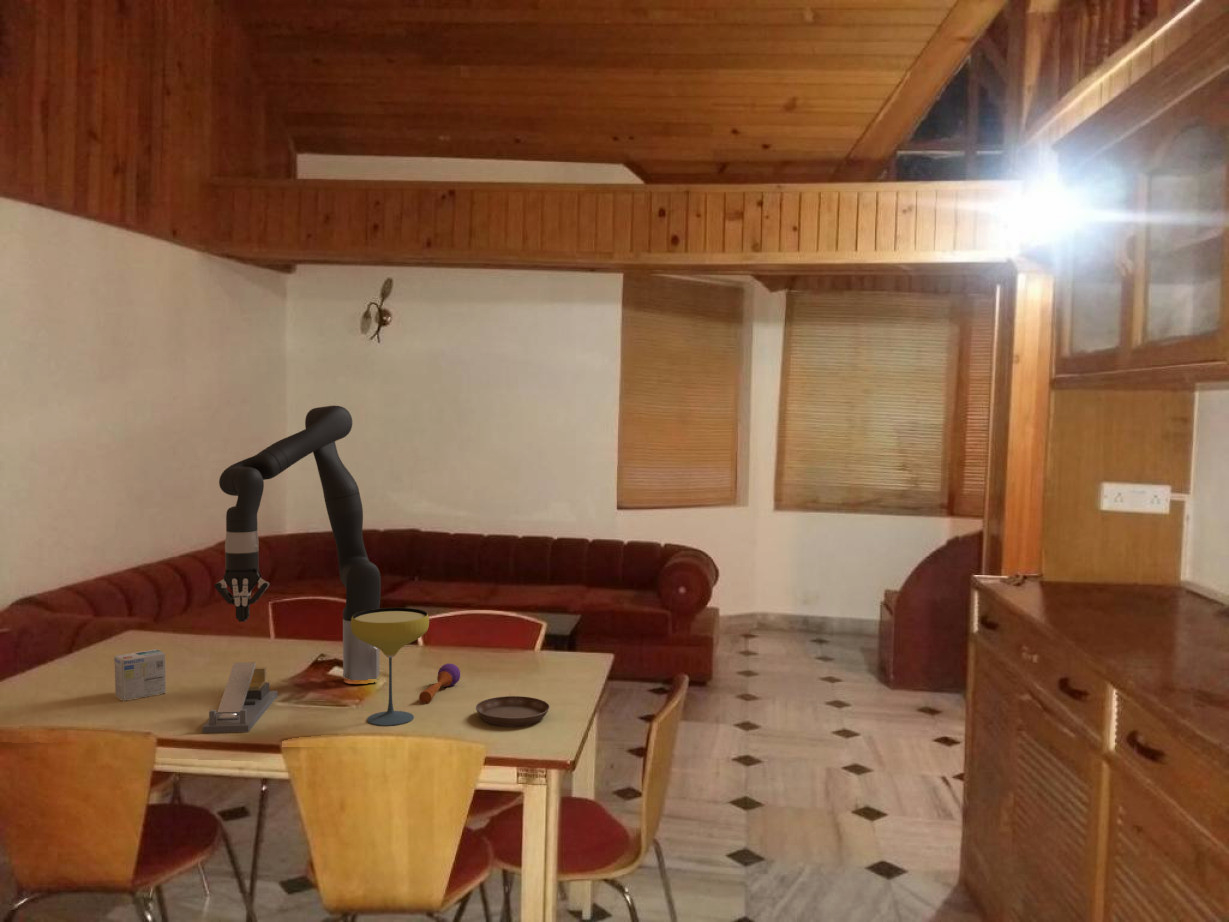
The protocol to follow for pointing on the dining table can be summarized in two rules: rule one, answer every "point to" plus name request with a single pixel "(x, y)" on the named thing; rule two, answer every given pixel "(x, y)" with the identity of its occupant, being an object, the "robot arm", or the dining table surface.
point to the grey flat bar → (236, 691)
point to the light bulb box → (140, 674)
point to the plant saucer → (512, 710)
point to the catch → (258, 679)
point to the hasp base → (243, 713)
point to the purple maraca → (441, 681)
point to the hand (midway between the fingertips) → (242, 620)
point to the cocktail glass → (390, 645)
